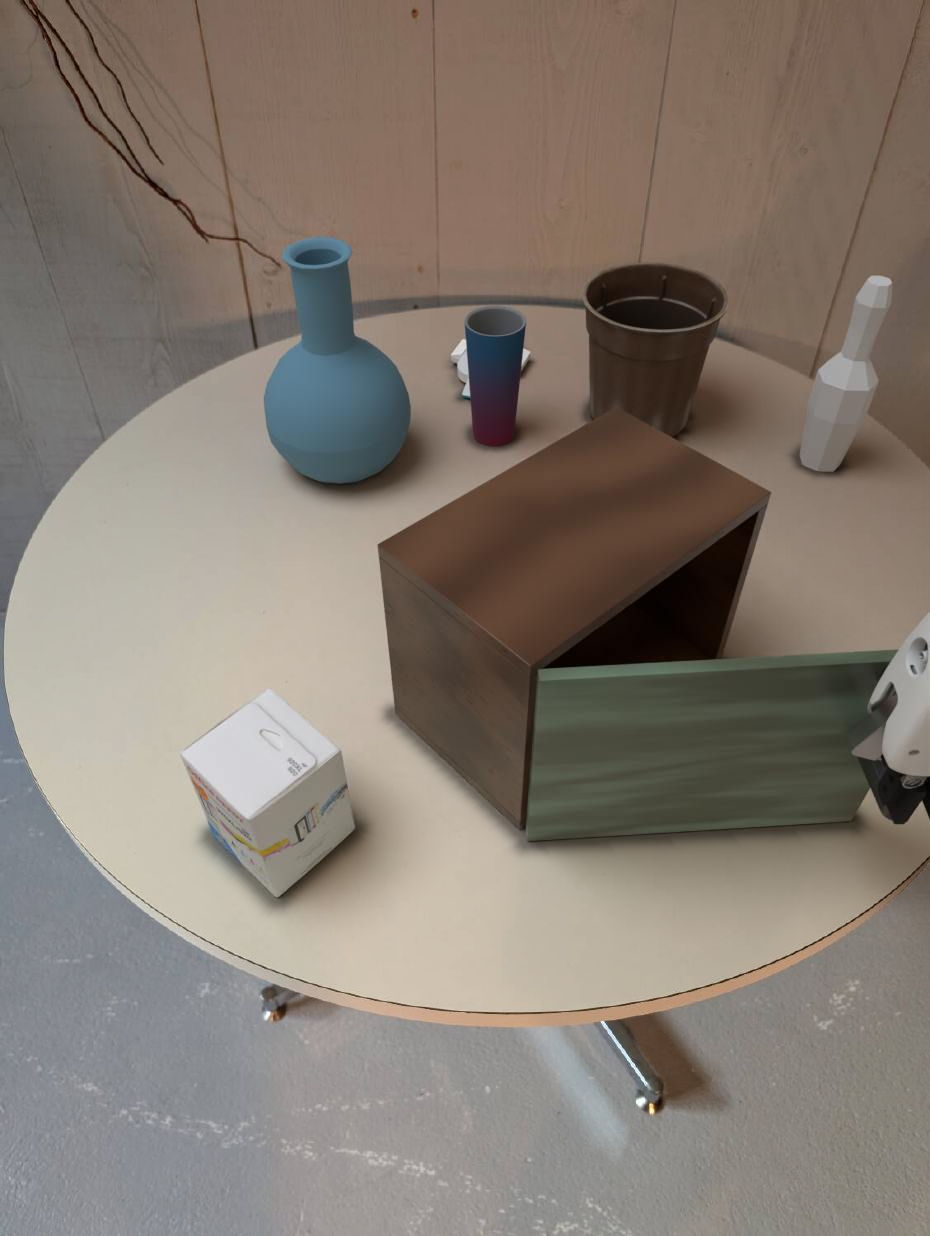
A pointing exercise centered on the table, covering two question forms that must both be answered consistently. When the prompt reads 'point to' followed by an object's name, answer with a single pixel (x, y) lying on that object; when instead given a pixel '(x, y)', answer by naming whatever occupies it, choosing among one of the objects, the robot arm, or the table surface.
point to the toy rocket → (462, 364)
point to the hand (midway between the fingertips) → (910, 803)
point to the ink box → (271, 790)
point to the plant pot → (650, 339)
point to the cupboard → (560, 587)
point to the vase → (333, 378)
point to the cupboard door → (701, 745)
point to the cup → (494, 371)
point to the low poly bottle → (845, 383)
